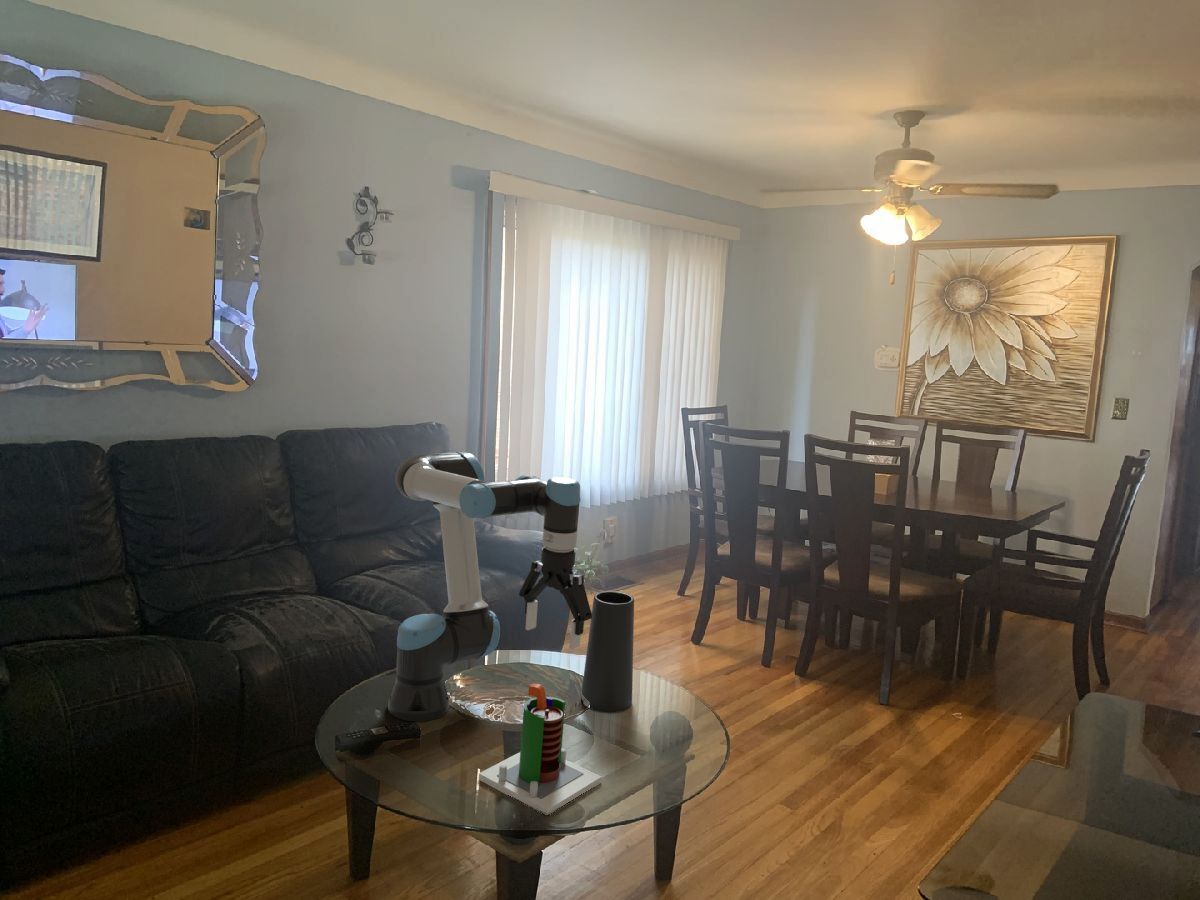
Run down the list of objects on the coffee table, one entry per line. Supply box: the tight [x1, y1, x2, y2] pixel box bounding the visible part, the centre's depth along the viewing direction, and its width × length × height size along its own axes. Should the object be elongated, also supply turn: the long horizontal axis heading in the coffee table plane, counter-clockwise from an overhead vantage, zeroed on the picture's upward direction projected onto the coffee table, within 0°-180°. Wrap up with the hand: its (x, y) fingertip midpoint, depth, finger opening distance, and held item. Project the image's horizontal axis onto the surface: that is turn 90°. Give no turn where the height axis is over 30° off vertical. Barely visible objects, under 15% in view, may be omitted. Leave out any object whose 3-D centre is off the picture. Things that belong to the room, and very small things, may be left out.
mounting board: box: [478, 748, 602, 813], centre depth 195 cm, size 20×18×4 cm
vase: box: [581, 590, 635, 714], centre depth 234 cm, size 14×14×29 cm
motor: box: [519, 683, 566, 786], centre depth 194 cm, size 10×9×20 cm
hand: (552, 637), depth 201 cm, fingers open, 13 cm apart
